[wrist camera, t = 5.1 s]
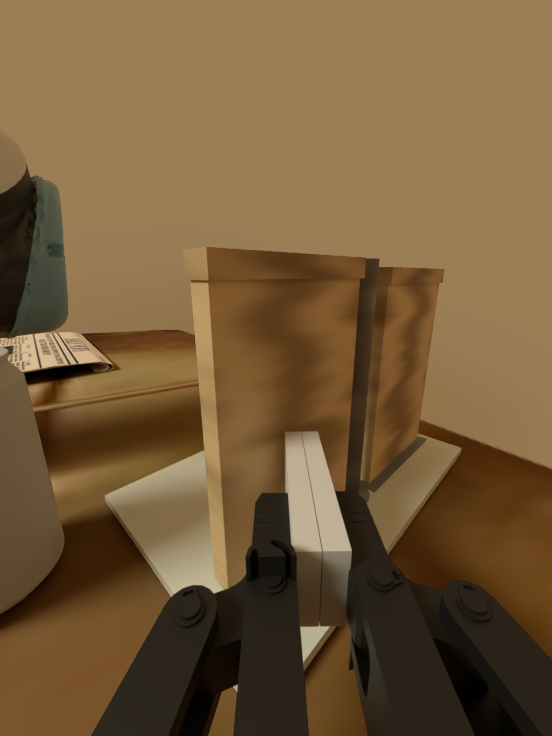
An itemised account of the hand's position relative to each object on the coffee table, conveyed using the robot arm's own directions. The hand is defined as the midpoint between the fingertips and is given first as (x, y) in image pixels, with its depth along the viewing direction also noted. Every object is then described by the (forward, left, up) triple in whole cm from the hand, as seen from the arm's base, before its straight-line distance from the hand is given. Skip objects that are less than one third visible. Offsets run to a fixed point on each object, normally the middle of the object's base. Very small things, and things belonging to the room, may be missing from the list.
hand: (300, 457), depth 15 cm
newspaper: (-66, +1, -8) cm, 66 cm away
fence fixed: (-1, +13, -6) cm, 14 cm away
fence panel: (-1, +2, -6) cm, 6 cm away
